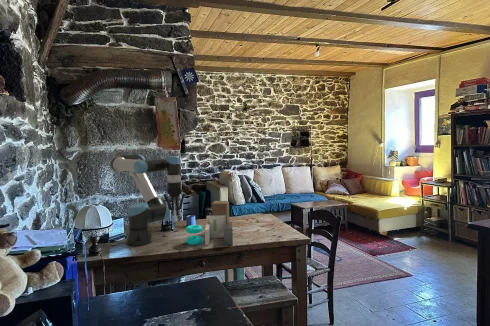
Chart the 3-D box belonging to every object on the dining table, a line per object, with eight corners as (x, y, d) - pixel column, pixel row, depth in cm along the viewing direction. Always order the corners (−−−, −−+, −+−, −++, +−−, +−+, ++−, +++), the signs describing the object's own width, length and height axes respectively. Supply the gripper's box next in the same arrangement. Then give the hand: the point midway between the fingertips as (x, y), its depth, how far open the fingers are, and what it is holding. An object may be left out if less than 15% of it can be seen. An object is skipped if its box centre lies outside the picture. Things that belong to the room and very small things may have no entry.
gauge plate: (205, 245, 201) (204, 225, 200) (207, 237, 217) (206, 219, 216) (208, 245, 201) (208, 225, 201) (210, 237, 217) (209, 219, 216)
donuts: (195, 223, 214) (205, 226, 207) (195, 239, 215) (206, 242, 208) (182, 226, 207) (192, 229, 200) (182, 243, 208) (192, 246, 201)
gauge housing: (205, 246, 201) (204, 222, 200) (207, 237, 219) (206, 215, 217) (232, 245, 202) (232, 221, 201) (232, 236, 219) (232, 214, 218)
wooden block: (229, 229, 236) (228, 200, 235) (227, 233, 226) (226, 203, 225) (215, 229, 237) (214, 200, 236) (212, 233, 227) (211, 203, 226)
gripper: (161, 183, 201) (163, 223, 202) (184, 182, 201) (185, 222, 203) (164, 181, 208) (165, 220, 210) (185, 180, 209) (187, 219, 210)
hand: (175, 221), depth 206 cm, fingers closed
